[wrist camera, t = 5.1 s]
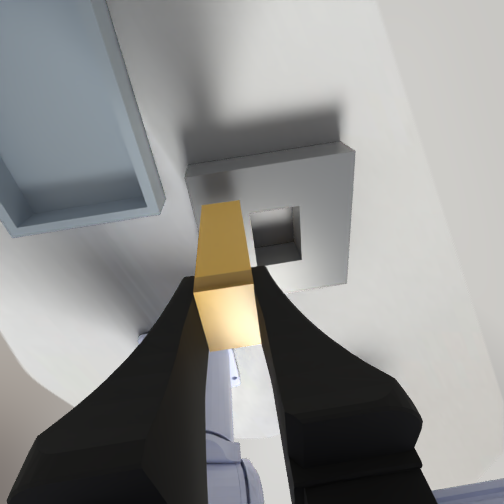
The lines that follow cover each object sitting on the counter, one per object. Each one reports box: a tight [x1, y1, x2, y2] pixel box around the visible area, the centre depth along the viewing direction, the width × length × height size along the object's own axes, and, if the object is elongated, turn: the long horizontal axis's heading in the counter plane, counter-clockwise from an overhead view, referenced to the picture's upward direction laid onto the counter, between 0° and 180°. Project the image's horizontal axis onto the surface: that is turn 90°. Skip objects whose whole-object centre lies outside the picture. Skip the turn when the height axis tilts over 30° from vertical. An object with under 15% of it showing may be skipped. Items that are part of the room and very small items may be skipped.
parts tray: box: [0, 0, 166, 238], centre depth 16 cm, size 12×9×2 cm
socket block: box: [185, 141, 355, 294], centre depth 21 cm, size 10×10×2 cm
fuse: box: [193, 200, 261, 352], centre depth 13 cm, size 3×2×7 cm, turn 6°
